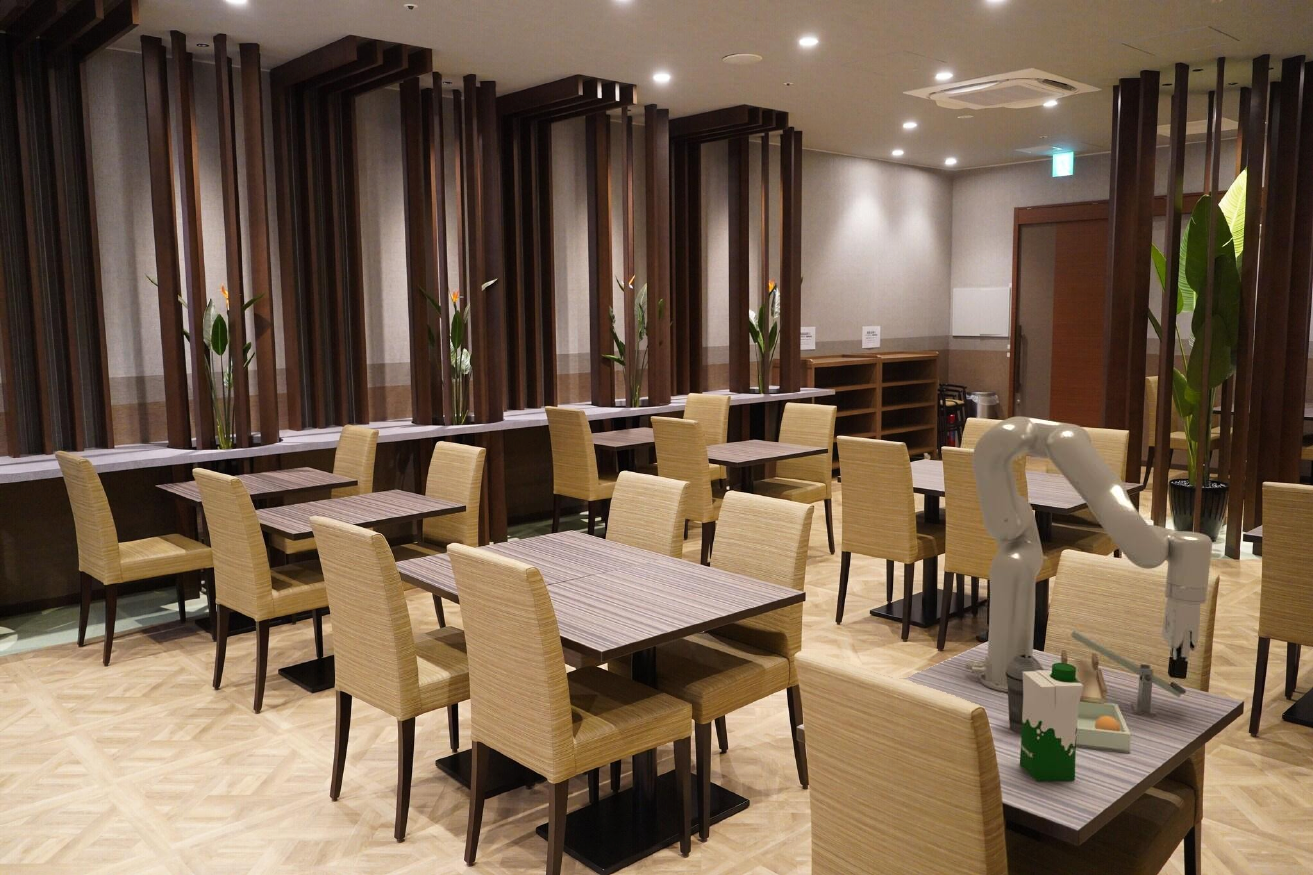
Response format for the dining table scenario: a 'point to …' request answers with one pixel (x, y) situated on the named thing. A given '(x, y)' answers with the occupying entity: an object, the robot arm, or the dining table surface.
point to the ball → (1107, 724)
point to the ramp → (1089, 678)
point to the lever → (1128, 664)
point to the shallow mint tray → (1099, 737)
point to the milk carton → (1050, 722)
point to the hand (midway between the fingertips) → (1176, 676)
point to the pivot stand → (1144, 693)
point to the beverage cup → (1018, 686)
